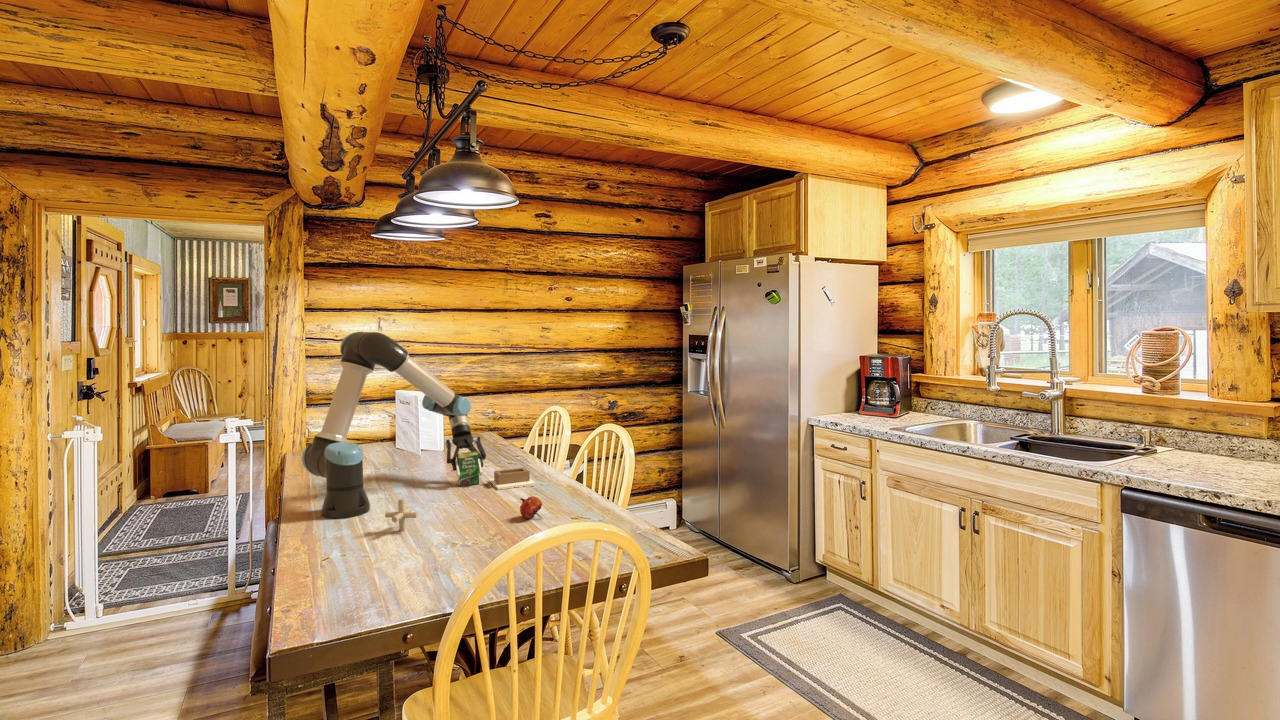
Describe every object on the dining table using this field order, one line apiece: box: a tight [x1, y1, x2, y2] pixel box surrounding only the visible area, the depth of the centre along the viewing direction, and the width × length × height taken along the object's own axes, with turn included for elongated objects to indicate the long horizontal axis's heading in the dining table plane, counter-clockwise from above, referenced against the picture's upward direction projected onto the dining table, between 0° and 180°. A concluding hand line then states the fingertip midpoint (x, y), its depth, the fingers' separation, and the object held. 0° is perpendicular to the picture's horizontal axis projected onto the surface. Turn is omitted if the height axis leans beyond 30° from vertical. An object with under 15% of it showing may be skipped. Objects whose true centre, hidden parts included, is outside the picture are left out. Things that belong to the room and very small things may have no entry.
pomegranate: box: [519, 496, 544, 520], centre depth 215 cm, size 7×7×10 cm
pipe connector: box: [384, 497, 419, 532], centre depth 204 cm, size 10×10×10 cm
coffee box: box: [456, 450, 480, 487], centre depth 258 cm, size 8×3×13 cm, turn 118°
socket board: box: [488, 467, 537, 491], centre depth 260 cm, size 15×15×5 cm
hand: (469, 475), depth 255 cm, fingers closed on coffee box, 8 cm apart
